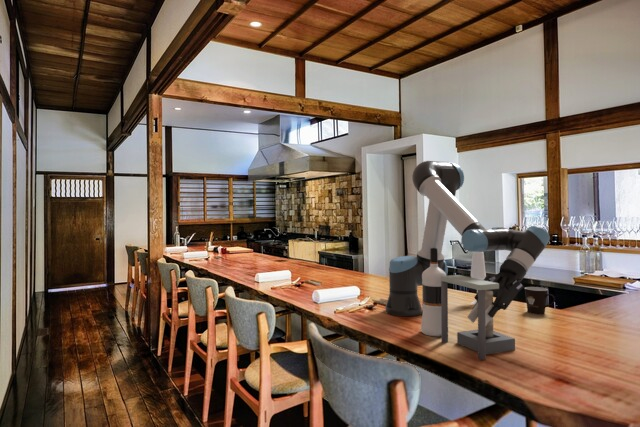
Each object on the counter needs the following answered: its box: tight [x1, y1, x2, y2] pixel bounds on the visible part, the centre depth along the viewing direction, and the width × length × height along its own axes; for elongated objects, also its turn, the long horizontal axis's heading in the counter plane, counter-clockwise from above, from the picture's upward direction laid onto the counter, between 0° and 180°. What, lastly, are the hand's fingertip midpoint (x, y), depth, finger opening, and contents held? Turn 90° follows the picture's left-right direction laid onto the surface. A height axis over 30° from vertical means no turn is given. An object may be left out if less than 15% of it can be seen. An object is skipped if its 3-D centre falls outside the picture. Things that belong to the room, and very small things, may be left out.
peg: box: [485, 290, 494, 337], centre depth 130 cm, size 4×4×14 cm
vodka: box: [420, 248, 446, 338], centre depth 144 cm, size 9×9×30 cm
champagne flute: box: [470, 251, 487, 306], centre depth 191 cm, size 7×7×24 cm
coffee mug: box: [524, 286, 556, 315], centre depth 171 cm, size 12×9×10 cm
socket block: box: [456, 329, 516, 355], centre depth 130 cm, size 12×12×4 cm
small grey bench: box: [441, 274, 499, 361], centre depth 128 cm, size 7×19×22 cm, turn 20°
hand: (476, 321), depth 128 cm, fingers closed on peg, 4 cm apart
